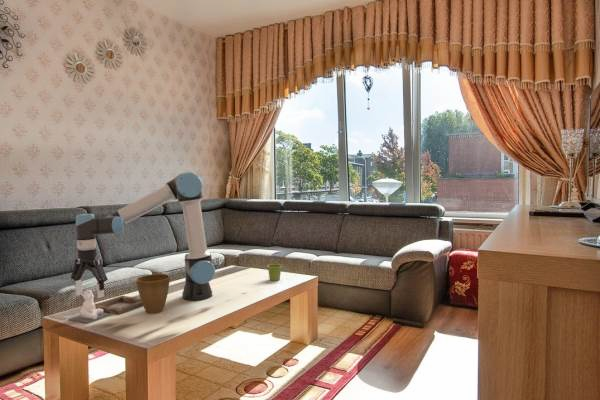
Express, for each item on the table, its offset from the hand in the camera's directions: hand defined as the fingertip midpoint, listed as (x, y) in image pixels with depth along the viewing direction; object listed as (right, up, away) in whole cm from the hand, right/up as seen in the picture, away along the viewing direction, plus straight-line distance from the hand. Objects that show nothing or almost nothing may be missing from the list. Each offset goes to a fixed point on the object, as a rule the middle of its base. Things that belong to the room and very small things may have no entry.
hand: (90, 295), depth 189 cm
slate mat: (0, -10, 0) cm, 10 cm away
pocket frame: (+7, -9, +16) cm, 20 cm away
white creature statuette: (0, -9, 0) cm, 9 cm away
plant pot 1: (+26, -9, +8) cm, 29 cm away
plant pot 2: (+79, -6, +66) cm, 103 cm away
